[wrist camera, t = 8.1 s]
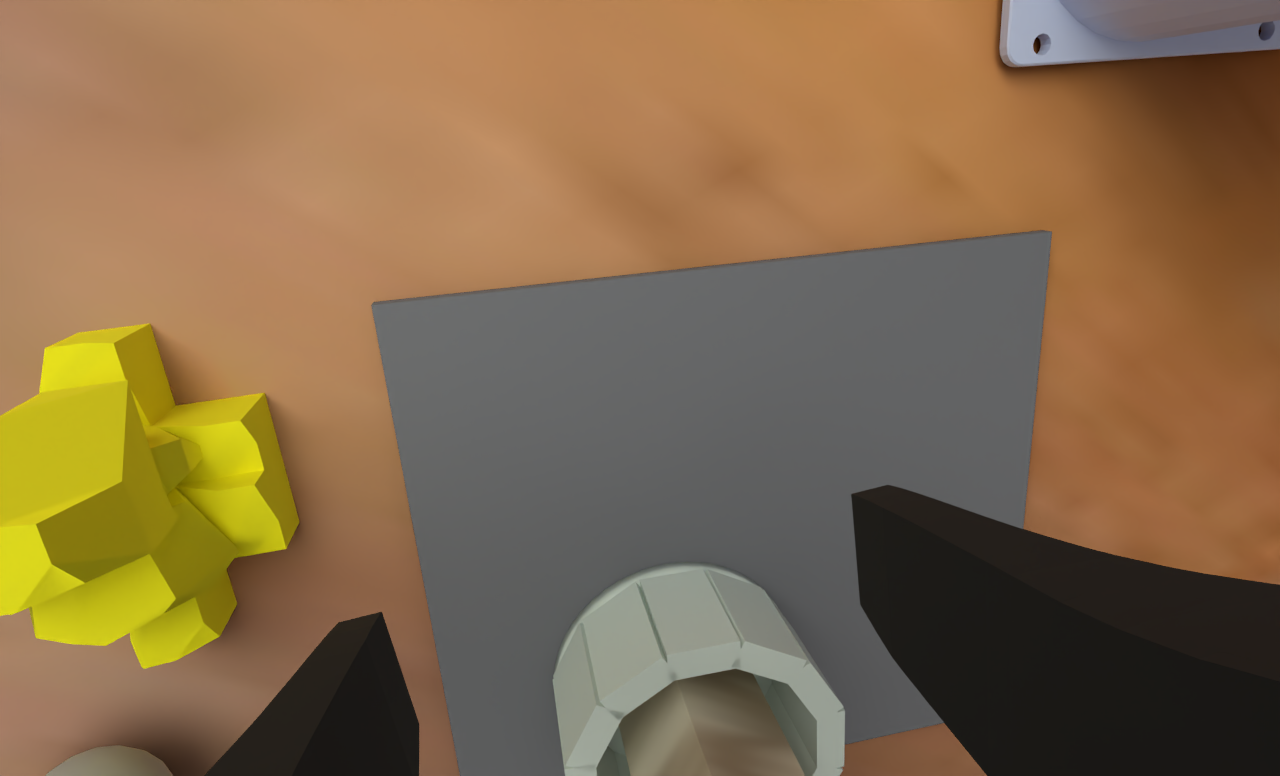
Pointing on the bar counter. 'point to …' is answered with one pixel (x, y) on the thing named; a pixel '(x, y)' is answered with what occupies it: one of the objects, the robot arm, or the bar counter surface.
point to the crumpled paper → (133, 499)
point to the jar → (686, 663)
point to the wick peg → (707, 730)
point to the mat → (699, 452)
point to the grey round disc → (112, 763)
